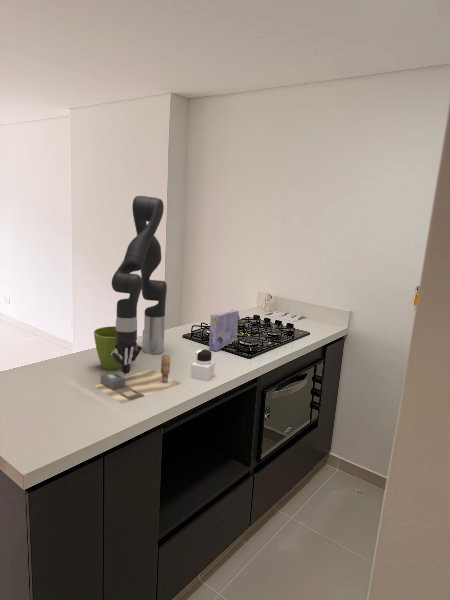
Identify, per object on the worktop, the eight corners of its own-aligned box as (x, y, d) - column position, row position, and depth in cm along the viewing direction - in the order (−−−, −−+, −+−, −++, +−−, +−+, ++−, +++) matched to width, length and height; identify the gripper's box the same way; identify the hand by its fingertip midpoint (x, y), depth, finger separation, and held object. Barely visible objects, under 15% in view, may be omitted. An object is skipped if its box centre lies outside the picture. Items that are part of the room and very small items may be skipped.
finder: (100, 382, 151) (100, 373, 150) (113, 379, 155) (113, 370, 154) (112, 390, 146) (112, 380, 145) (124, 386, 149) (125, 377, 149)
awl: (158, 381, 156) (159, 356, 154) (165, 379, 158) (166, 354, 156) (164, 384, 154) (165, 358, 152) (170, 382, 156) (172, 356, 154)
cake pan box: (230, 341, 216) (232, 308, 212) (238, 343, 213) (241, 310, 210) (207, 349, 201) (209, 314, 197) (215, 352, 198) (218, 316, 194)
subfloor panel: (93, 389, 148) (93, 385, 148) (151, 372, 167) (151, 369, 167) (122, 407, 137) (122, 403, 136) (181, 386, 156) (181, 383, 156)
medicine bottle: (213, 378, 166) (215, 349, 164) (207, 384, 160) (209, 355, 157) (197, 375, 168) (199, 346, 166) (190, 381, 162) (191, 351, 159)
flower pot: (139, 371, 168) (140, 333, 165) (106, 379, 157) (107, 339, 154) (118, 360, 178) (119, 324, 175) (86, 368, 167) (86, 330, 164)
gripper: (135, 322, 157) (134, 365, 161) (104, 328, 147) (104, 374, 151) (147, 327, 152) (146, 371, 156) (116, 334, 142) (115, 381, 146)
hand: (125, 373), depth 153 cm, fingers closed
